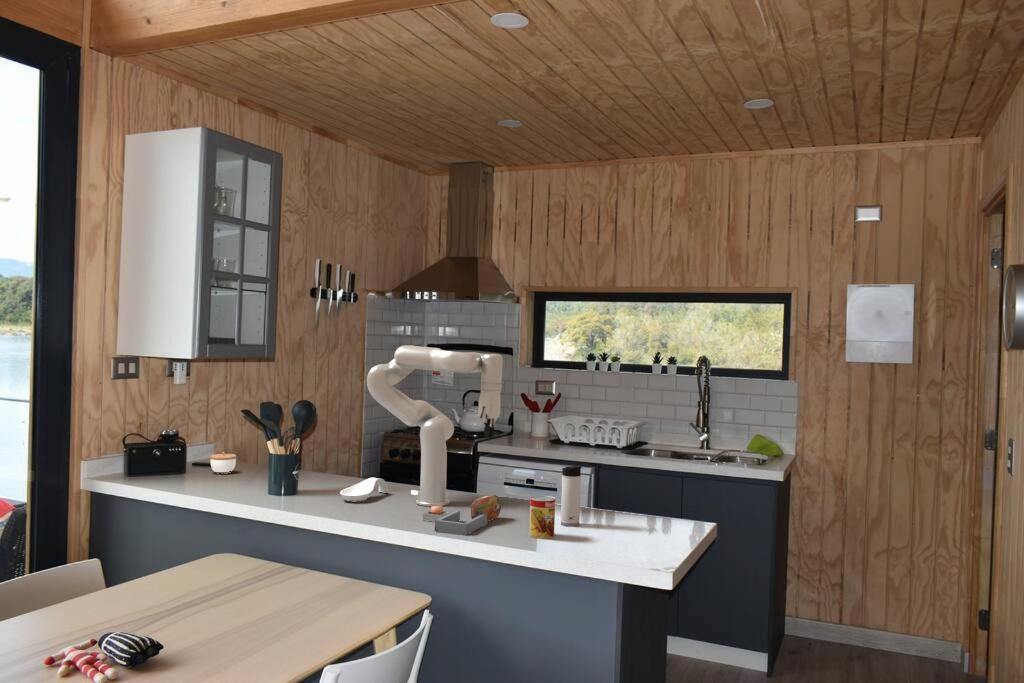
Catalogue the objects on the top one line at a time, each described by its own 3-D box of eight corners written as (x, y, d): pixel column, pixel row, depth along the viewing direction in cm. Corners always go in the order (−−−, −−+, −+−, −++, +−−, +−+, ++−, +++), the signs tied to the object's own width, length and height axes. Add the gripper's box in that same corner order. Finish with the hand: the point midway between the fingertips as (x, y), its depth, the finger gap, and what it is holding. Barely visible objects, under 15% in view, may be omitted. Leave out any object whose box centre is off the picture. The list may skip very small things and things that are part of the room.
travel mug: (574, 527, 268) (576, 467, 268) (557, 525, 271) (559, 465, 271) (583, 524, 273) (585, 465, 273) (566, 521, 277) (567, 463, 277)
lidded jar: (230, 470, 360) (231, 449, 360) (239, 474, 351) (240, 452, 351) (206, 472, 353) (206, 451, 353) (215, 476, 344) (215, 454, 344)
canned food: (552, 539, 251) (553, 501, 251) (527, 537, 253) (528, 499, 253) (555, 533, 259) (556, 496, 259) (531, 532, 260) (532, 494, 260)
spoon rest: (359, 505, 294) (359, 486, 294) (333, 502, 299) (333, 482, 299) (396, 495, 316) (396, 477, 316) (371, 492, 321) (371, 474, 321)
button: (428, 514, 273) (429, 507, 273) (434, 512, 276) (434, 505, 276) (439, 516, 271) (439, 508, 271) (444, 513, 275) (444, 506, 275)
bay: (434, 531, 257) (434, 520, 257) (456, 520, 274) (456, 510, 274) (466, 535, 254) (466, 524, 254) (486, 524, 270) (487, 513, 270)
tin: (476, 525, 267) (477, 500, 267) (468, 524, 269) (469, 499, 269) (501, 518, 280) (501, 493, 280) (493, 516, 282) (494, 492, 282)
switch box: (422, 520, 272) (422, 513, 272) (431, 516, 278) (432, 509, 278) (441, 523, 269) (441, 515, 269) (450, 518, 276) (450, 511, 276)
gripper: (490, 386, 305) (488, 434, 305) (472, 387, 291) (470, 438, 291) (508, 387, 302) (506, 436, 302) (491, 389, 288) (489, 440, 288)
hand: (488, 437), depth 296 cm, fingers closed
